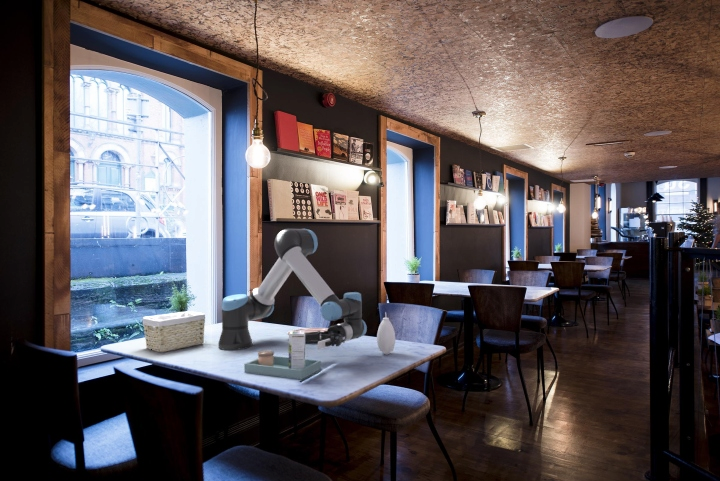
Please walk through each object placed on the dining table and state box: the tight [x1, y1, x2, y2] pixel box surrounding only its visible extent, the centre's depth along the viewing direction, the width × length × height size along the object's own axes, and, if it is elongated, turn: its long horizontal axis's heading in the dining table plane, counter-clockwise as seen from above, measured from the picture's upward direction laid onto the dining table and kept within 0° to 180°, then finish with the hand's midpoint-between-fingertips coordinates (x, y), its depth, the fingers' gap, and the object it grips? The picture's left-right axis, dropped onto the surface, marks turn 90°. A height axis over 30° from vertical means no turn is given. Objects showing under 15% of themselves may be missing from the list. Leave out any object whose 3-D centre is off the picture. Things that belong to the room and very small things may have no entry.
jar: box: [257, 350, 275, 367], centre depth 176 cm, size 6×6×6 cm
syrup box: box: [288, 330, 306, 370], centre depth 171 cm, size 6×6×14 cm
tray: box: [243, 355, 322, 383], centre depth 173 cm, size 24×14×4 cm, turn 66°
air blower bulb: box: [376, 312, 396, 355], centre depth 201 cm, size 8×8×18 cm
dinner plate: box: [286, 327, 329, 343], centre depth 235 cm, size 28×27×3 cm
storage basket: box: [142, 310, 206, 353], centre depth 220 cm, size 24×16×15 cm
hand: (304, 343), depth 174 cm, fingers open, 13 cm apart
